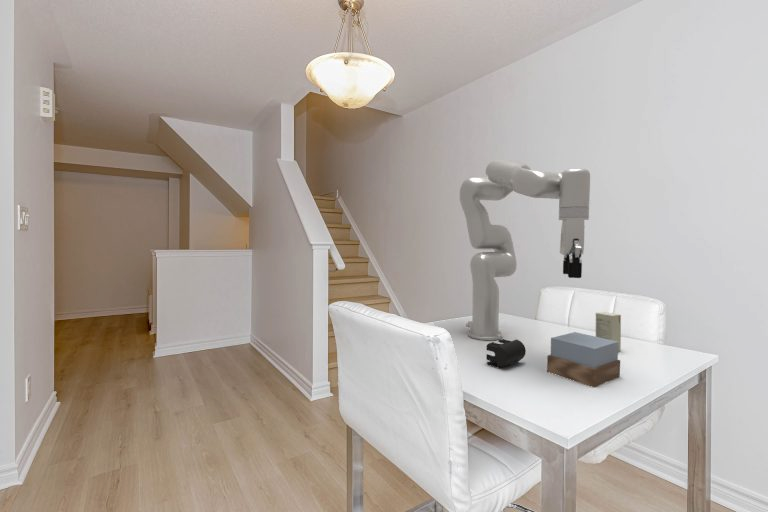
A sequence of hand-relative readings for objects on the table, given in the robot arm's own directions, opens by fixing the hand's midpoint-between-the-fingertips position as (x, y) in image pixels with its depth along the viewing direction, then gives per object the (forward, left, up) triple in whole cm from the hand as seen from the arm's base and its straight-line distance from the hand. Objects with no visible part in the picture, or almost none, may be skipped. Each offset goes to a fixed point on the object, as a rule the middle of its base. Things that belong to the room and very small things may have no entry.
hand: (571, 275), depth 108 cm
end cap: (-13, -12, -27) cm, 32 cm away
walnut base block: (+4, -1, -27) cm, 27 cm away
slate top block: (+4, -1, -22) cm, 22 cm away
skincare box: (-4, +28, -27) cm, 39 cm away
